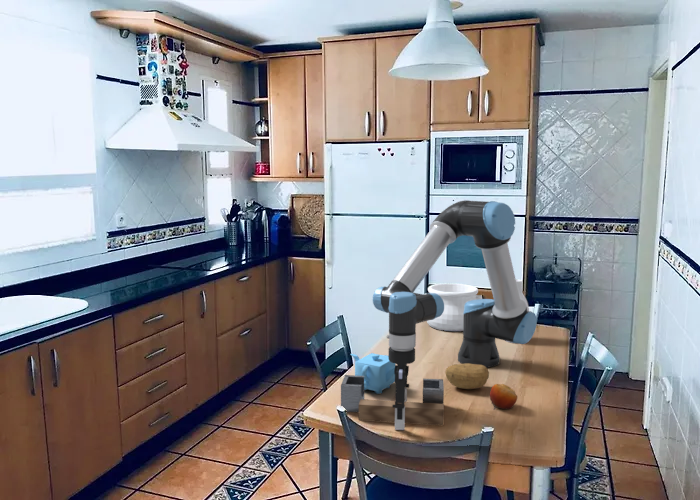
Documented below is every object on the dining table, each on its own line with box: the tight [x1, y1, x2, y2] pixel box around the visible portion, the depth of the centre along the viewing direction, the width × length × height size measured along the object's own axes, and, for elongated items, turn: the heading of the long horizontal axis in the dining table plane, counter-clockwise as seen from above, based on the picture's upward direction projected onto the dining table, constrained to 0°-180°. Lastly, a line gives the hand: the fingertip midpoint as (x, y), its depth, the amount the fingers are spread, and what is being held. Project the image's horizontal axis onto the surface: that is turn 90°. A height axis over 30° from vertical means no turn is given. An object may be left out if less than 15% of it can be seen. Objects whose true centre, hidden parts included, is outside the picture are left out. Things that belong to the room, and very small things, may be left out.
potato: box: [444, 363, 490, 390], centre depth 194 cm, size 10×14×8 cm
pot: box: [424, 282, 483, 332], centre depth 269 cm, size 26×24×18 cm
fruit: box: [489, 383, 518, 410], centre depth 179 cm, size 8×8×8 cm
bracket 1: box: [340, 374, 365, 413], centre depth 180 cm, size 6×9×8 cm, turn 172°
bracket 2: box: [422, 378, 445, 404], centre depth 177 cm, size 6×9×8 cm, turn 172°
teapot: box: [350, 352, 397, 395], centre depth 195 cm, size 16×18×11 cm
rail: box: [358, 398, 445, 426], centre depth 170 cm, size 24×4×5 cm, turn 81°
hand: (400, 419), depth 171 cm, fingers open, 13 cm apart
